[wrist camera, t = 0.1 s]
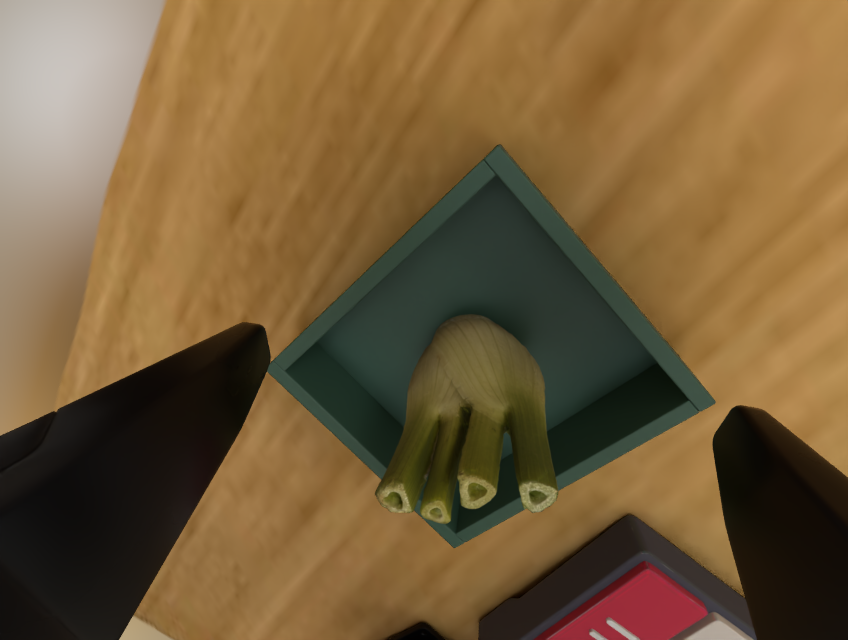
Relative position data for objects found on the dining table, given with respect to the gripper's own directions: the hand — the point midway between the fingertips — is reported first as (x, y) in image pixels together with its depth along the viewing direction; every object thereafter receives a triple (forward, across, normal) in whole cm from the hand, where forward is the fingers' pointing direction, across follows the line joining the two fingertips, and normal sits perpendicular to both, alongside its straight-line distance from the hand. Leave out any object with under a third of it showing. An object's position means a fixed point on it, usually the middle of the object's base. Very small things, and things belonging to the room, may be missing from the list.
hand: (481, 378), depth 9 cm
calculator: (+9, -12, +28) cm, 32 cm away
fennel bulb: (+13, 0, +10) cm, 17 cm away
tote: (+13, 0, +10) cm, 17 cm away
